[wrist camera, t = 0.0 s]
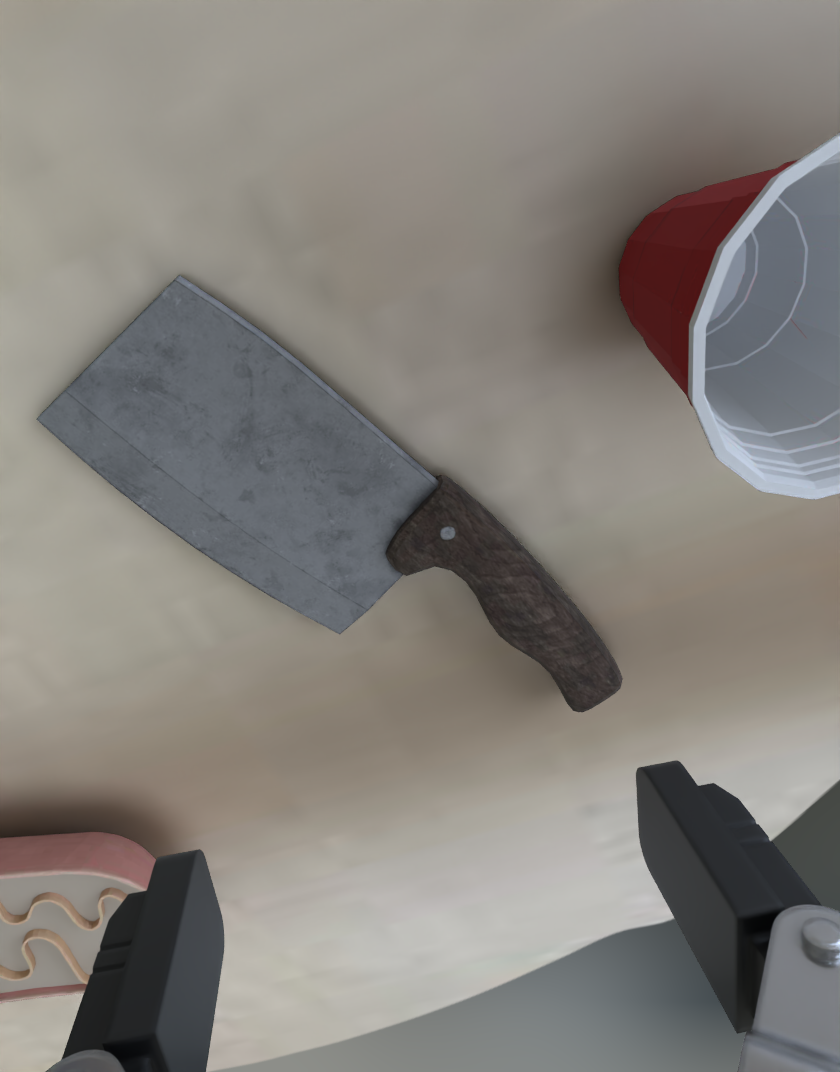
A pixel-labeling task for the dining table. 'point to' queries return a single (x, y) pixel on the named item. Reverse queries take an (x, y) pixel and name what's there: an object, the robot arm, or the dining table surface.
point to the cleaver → (300, 484)
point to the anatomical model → (61, 907)
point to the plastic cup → (751, 317)
